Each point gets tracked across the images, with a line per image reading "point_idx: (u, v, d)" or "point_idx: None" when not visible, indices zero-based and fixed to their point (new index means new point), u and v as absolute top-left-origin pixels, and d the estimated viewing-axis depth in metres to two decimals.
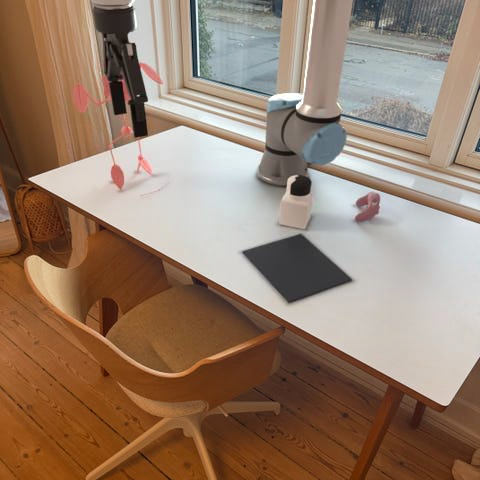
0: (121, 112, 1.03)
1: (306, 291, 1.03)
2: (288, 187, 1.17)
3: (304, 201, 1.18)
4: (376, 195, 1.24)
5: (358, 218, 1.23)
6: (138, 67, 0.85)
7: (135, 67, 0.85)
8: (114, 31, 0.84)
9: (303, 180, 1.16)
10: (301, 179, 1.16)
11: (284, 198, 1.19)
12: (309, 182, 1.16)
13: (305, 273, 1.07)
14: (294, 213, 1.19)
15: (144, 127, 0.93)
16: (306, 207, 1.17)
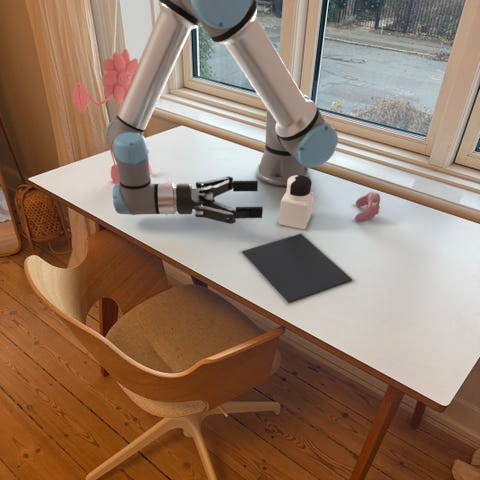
0: (256, 186, 1.24)
1: (306, 291, 1.03)
2: (288, 187, 1.17)
3: (304, 201, 1.18)
4: (376, 195, 1.24)
5: (358, 218, 1.23)
6: (210, 211, 1.12)
7: (210, 213, 1.13)
8: (189, 210, 1.17)
9: (303, 180, 1.16)
10: (301, 179, 1.16)
11: (284, 198, 1.19)
12: (309, 182, 1.16)
13: (305, 273, 1.07)
14: (294, 213, 1.19)
15: (255, 210, 1.14)
16: (306, 207, 1.17)
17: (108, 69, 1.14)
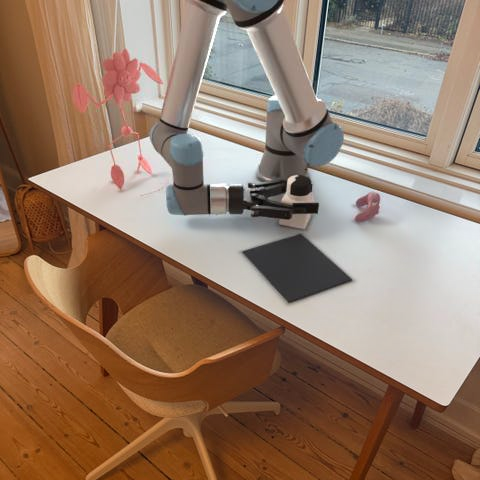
0: None
1: (306, 291, 1.03)
2: (288, 187, 1.17)
3: (304, 201, 1.18)
4: (376, 195, 1.24)
5: (358, 218, 1.23)
6: (267, 209, 1.14)
7: (267, 212, 1.14)
8: (241, 211, 1.18)
9: (303, 180, 1.16)
10: (301, 179, 1.16)
11: (284, 198, 1.19)
12: (309, 182, 1.16)
13: (305, 273, 1.07)
14: None
15: (312, 206, 1.16)
16: None
17: (108, 69, 1.14)
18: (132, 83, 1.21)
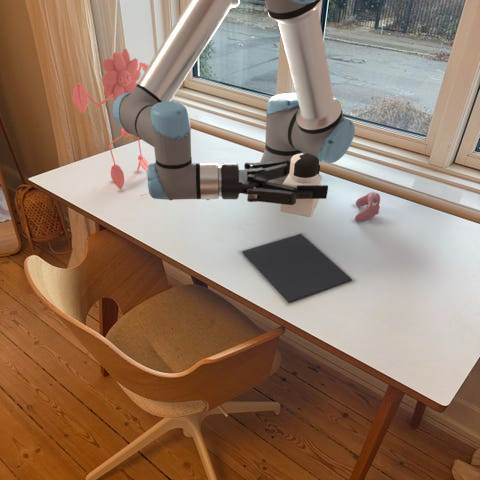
0: None
1: (306, 291, 1.03)
2: (291, 167, 0.99)
3: (310, 184, 1.00)
4: (376, 195, 1.24)
5: (358, 218, 1.23)
6: (266, 193, 0.96)
7: (266, 195, 0.97)
8: (236, 195, 1.00)
9: (309, 158, 0.98)
10: (306, 158, 0.98)
11: (287, 180, 1.01)
12: (317, 161, 0.98)
13: (305, 273, 1.07)
14: None
15: (319, 189, 0.98)
16: None
17: (108, 69, 1.14)
18: (132, 83, 1.21)
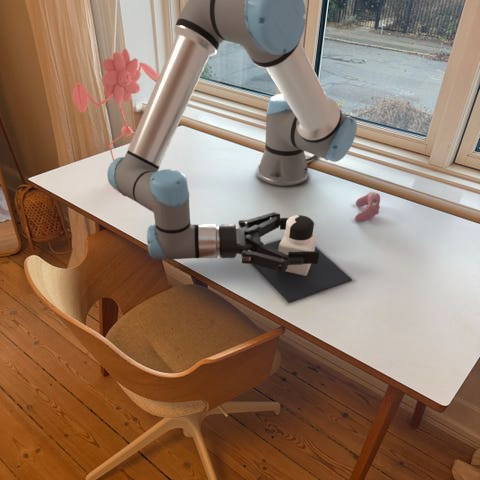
0: None
1: (306, 291, 1.03)
2: (287, 230, 1.02)
3: (305, 245, 1.02)
4: (376, 195, 1.24)
5: (358, 218, 1.23)
6: (259, 257, 0.98)
7: (259, 260, 0.99)
8: (234, 255, 1.03)
9: (305, 222, 1.01)
10: (301, 221, 1.01)
11: (283, 241, 1.04)
12: (312, 224, 1.01)
13: None
14: None
15: (311, 255, 0.99)
16: None
17: (108, 69, 1.14)
18: (132, 83, 1.21)
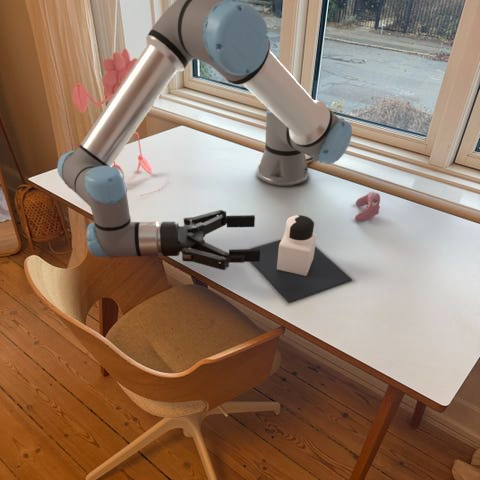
0: (253, 221, 1.08)
1: (306, 291, 1.03)
2: (287, 230, 1.02)
3: (305, 245, 1.02)
4: (376, 195, 1.24)
5: (358, 218, 1.23)
6: (199, 255, 0.97)
7: (199, 257, 0.97)
8: (176, 253, 1.01)
9: (305, 222, 1.01)
10: (301, 221, 1.01)
11: (283, 241, 1.04)
12: (312, 224, 1.01)
13: None
14: (294, 258, 1.04)
15: (251, 253, 0.98)
16: (308, 253, 1.02)
17: (108, 69, 1.14)
18: None
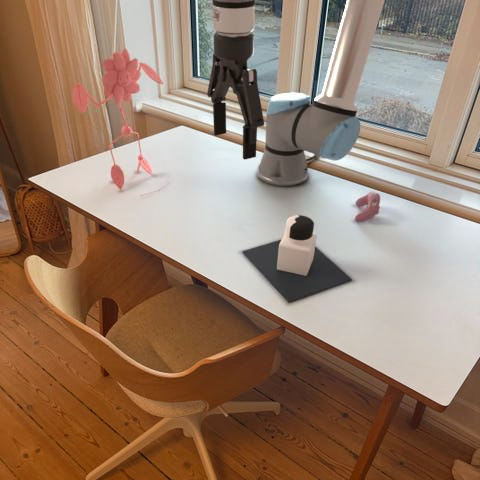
0: (221, 132, 1.04)
1: (306, 291, 1.03)
2: (287, 230, 1.02)
3: (305, 245, 1.02)
4: (376, 195, 1.24)
5: (358, 218, 1.23)
6: (257, 92, 0.87)
7: (254, 93, 0.87)
8: (235, 58, 0.85)
9: (305, 222, 1.01)
10: (301, 221, 1.01)
11: (283, 241, 1.04)
12: (312, 224, 1.01)
13: None
14: (294, 258, 1.04)
15: (253, 149, 0.95)
16: (308, 253, 1.02)
17: (108, 69, 1.14)
18: (132, 83, 1.21)
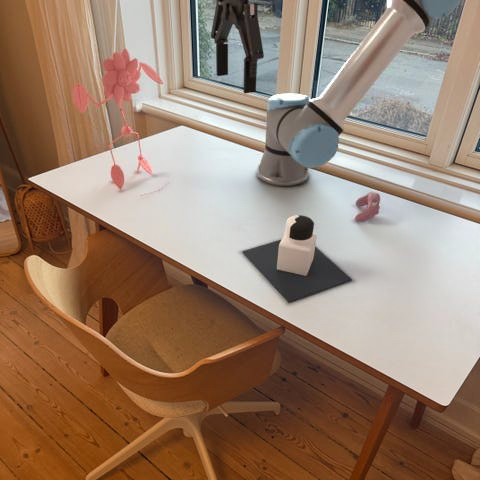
0: (223, 73, 1.12)
1: (306, 291, 1.03)
2: (287, 230, 1.02)
3: (305, 245, 1.02)
4: (376, 195, 1.24)
5: (358, 218, 1.23)
6: (257, 25, 0.94)
7: (255, 26, 0.94)
8: None
9: (305, 222, 1.01)
10: (301, 221, 1.01)
11: (283, 241, 1.04)
12: (312, 224, 1.01)
13: None
14: (294, 258, 1.04)
15: (253, 83, 1.02)
16: (308, 253, 1.02)
17: (108, 69, 1.14)
18: (132, 83, 1.21)
